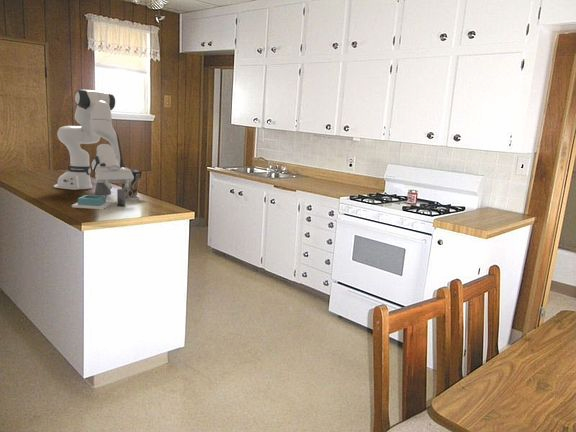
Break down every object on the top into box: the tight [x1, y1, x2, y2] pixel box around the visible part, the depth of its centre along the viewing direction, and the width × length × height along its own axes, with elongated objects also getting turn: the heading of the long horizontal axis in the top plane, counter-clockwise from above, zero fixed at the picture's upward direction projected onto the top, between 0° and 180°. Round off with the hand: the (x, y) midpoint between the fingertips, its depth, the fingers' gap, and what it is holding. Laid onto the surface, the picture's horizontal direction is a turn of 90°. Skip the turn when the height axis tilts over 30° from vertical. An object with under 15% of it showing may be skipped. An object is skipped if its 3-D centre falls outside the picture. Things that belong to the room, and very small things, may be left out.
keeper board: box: [71, 194, 113, 210], centre depth 247 cm, size 16×14×5 cm
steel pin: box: [116, 188, 126, 208], centre depth 251 cm, size 4×4×9 cm
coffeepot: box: [94, 181, 112, 196], centre depth 281 cm, size 15×9×18 cm, turn 68°
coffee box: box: [121, 168, 143, 199], centre depth 278 cm, size 9×6×16 cm
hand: (118, 187), depth 252 cm, fingers open, 8 cm apart
